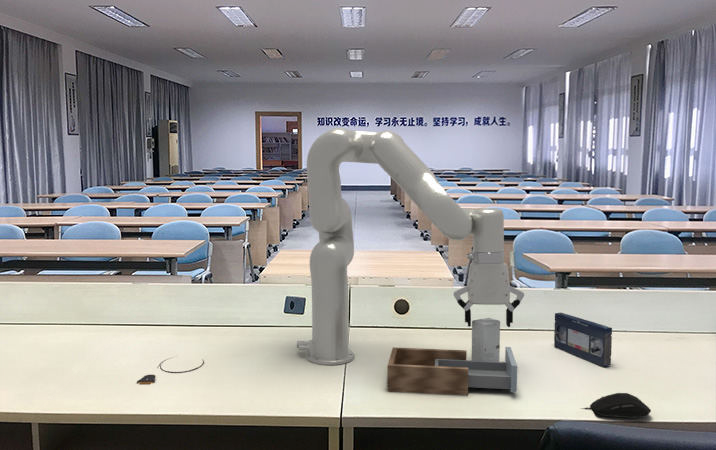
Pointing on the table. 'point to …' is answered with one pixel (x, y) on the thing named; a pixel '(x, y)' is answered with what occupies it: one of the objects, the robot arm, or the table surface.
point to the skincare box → (485, 340)
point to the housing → (426, 372)
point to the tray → (488, 371)
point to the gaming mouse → (620, 406)
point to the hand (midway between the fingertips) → (488, 325)
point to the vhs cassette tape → (583, 339)
